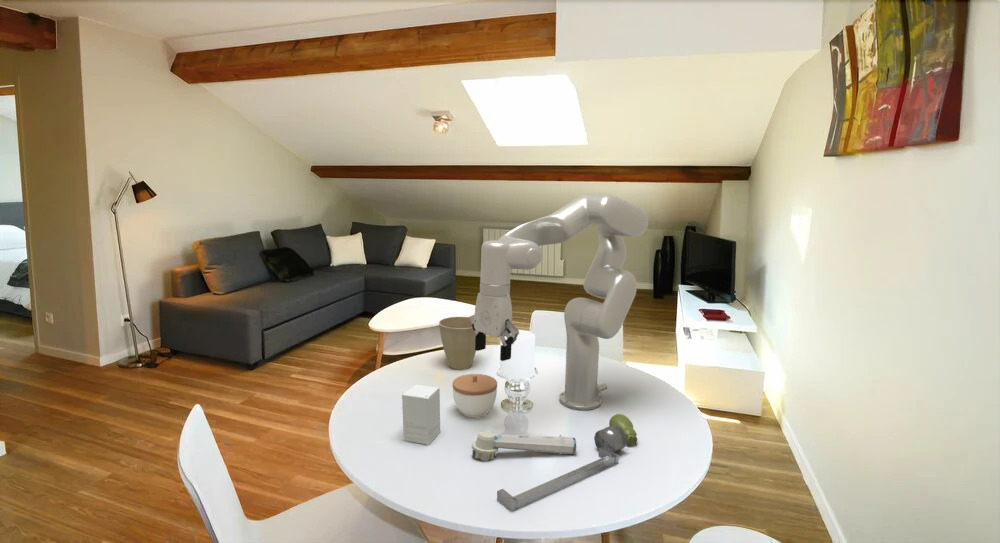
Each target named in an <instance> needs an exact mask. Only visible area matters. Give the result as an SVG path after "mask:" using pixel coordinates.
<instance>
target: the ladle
mask: <svg viewBox="0 0 1000 543" xmlns="http://www.w3.org/2000/svg"><path fill="white" fill-rule="evenodd" d="M593 439H594V444H595V445H594V446H595V448H597V450H598V457H599V459H596V460H594V461H592V462H590V463H587V464H585V465H583V466H581V467H578V468H576V469H573V470H572V471H569V472H567V473H564V474H562V475H559V476H558V477H556V478H553V479H550V480H549V481H545V482H544V483H541V484H539V485H538V486H535V487H532V488H530V489H527V490H526V491H523V492H521V493H519V494H516V495H514V496H513V495H511V494H510V493H509V492H508V491H507V490H505V488H502V489H499V490H497V491H496V500H497V502H499V503H500V504H501V505H503V506H504V507H505V508H506V509H507V510H508V511H510V512H511V513H513V512H514V511H517V510H519V509H520V508H523V507H525V506H528V505H529V504H532V503H534V502H536V501H539V500H541V499H543V498H545V497H547V496H550V495H551V494H554V493H557V492H559V491H561V490H562V489H565V488H567V487H569V486H572V485H573V484H576V483H578V482H580V481H583V480H585V479H587V478H588V477H589V478H590V477H591V476H593V475H595V474H598V473H600V472H601V471H604V470H606V469H608V468H611V467H612V466H613V467H614V466H616V465H617V464H619V459H620V458H619V457H620V456H619V454H617V453H616V452H618V451H621V450H623V449H625V448H626V447H627V446H626V443H627V439H626V435H625V433H624V431H623V430H622V429H621V428H620V427H619V426H617V425H612V426H607V427H605V428H602V429H600V430H597V431H596V432H595V434H594V438H593Z"/></svg>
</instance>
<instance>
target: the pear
mask: <svg viewBox="0 0 1000 543" xmlns="http://www.w3.org/2000/svg"><path fill="white" fill-rule="evenodd" d="M608 424H609V426H612V425H617V426H619V427H620V428H621V429H622V430H623V431H624V433H625V435H626V439H627V443H626V445H630V446H636V445H637V443H638V438H637V435H638V434H637V432H636V430H635V428H634V424H633V423H632V421H631V419H630V418H628V416H626V415H625V414H622V413H617V414H614V415H612V416H611V418H610V419H609V423H608ZM609 426H608V427H609Z"/></svg>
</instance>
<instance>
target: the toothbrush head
mask: <svg viewBox="0 0 1000 543" xmlns="http://www.w3.org/2000/svg"><path fill="white" fill-rule="evenodd" d="M471 448H472V453H471V454H472V457H473V458H474V459H476V460H477V459H480V460H481V462H483V461H484V462H488V461H489V460H493V459H495V458H496V456H497V454H496V453H497V452H498V451H499V449H505V450H506V449H507V450H518V451H527V452H538V453H550V454H558V455H559V456H561V455H575V454H576V451H577V440H576V438H575V437H570V436H563V435H562V434H560V435H559V436H558V435H557V436H555V435H554V436H553V435H519V434H518V435H517V434H516V435H515V434H514V435H513V434H511V435H510V434H495V433H494V432H491V431H488V430H484V431H480V432H479V433H478V434H477V437H476V440H474V441H473V442H472V443H471Z"/></svg>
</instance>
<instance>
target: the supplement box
mask: <svg viewBox="0 0 1000 543" xmlns="http://www.w3.org/2000/svg"><path fill="white" fill-rule="evenodd" d="M440 394H441V393H440V387H437V386H430V385H429V386H428V385H422V384H417V383H415V384H414V385H412V386H411V387H410V388H409V389H407V390H406V391H405V392H403V393H402V394H401V399H402V425H403V426H402V427H403V428H402V430H403V431H402V432H403V441H406V442H412V443H417V444H423V445H427V446H428V445H430V444H432V442H433V441H434V440H435V439H436V438H437V437H438V436H439V434H440V433H441V403H440V402H441V400H440V399H441V398H440V396H441V395H440Z"/></svg>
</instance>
